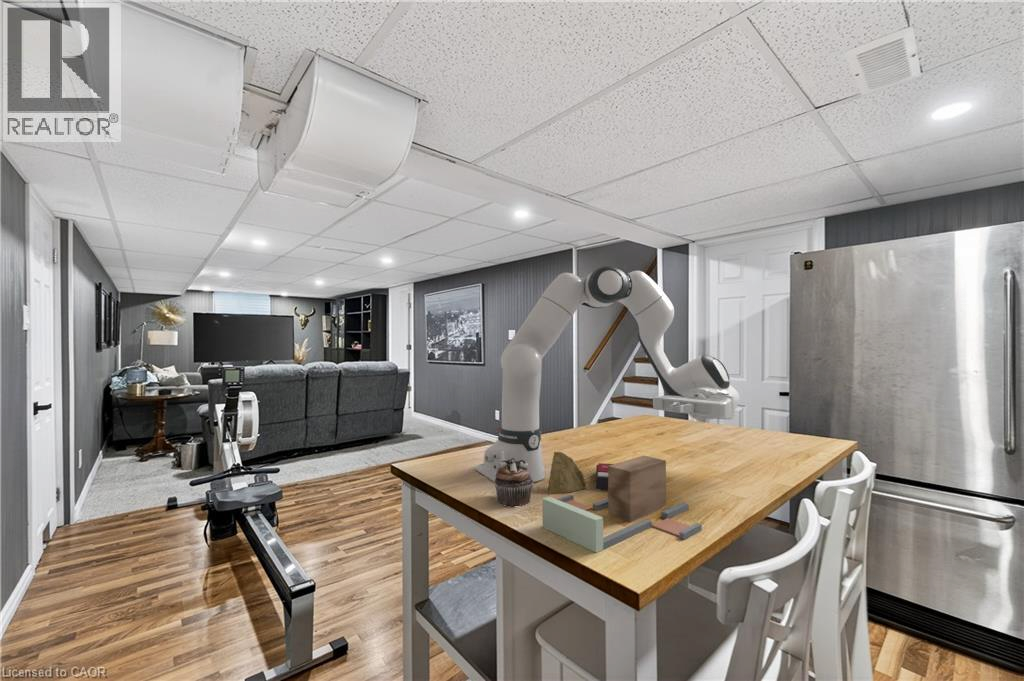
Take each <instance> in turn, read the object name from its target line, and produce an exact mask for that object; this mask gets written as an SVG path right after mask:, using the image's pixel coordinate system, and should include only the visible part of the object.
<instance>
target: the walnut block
mask: <svg viewBox="0 0 1024 681" xmlns="http://www.w3.org/2000/svg"><path fill="white" fill-rule="evenodd" d="M612 464H613V465H609V466H608V490H607V492H608V494H607V495H608V496H607V497H608V507H607V508H608V515H610V516H613V517H615V518H618V519H621V520H624V521H626V522H629V523H632V522H634V521H638V520H639V519H642V518H644V517H646V516H648V514H649V515H651V514H653V513H655V512H657V510H658V511H660V510H662V509H664V508H663V507H665V506H666V507H667V461H666V459H661V458H656V457H652V456H648V455H642V456H638V457H634V458H630V459H627V460H623V461H620V462H617V463H612ZM666 507H665V508H666ZM661 508H662V509H661ZM659 509H660V510H659Z"/></svg>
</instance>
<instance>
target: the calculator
mask: <svg viewBox="0 0 1024 681" xmlns="http://www.w3.org/2000/svg"><path fill="white" fill-rule="evenodd" d="M613 464H614V463H603V462H602V463H599V462H598V463H597V464H596V470H595V477H596V478H595V490H597V489H601V490H600V491H608V466H609V465H613Z"/></svg>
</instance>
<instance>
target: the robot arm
mask: <svg viewBox="0 0 1024 681" xmlns="http://www.w3.org/2000/svg"><path fill="white" fill-rule="evenodd" d="M616 302H618V303H620V304H622V305H623V306H625V307H626V308H627V310H628V311H629V312H630V313H631V315H632V316H633V318H634V319H635V320H636V323H637V326H638V331H637V332H638V333H637V338H638V341H639V343H640V345H641V348H642V349H643V352H644V354H645V355H646V357H647V359H648V360H649V362H650V364H651V366H652V367H653V369H654V372H655V373H656V375H657V377H658V379H659V381H660V384H661V386H662V390H663V392H664V394H666V395H656V396H654V397H653V398H652V408H653V409H654V410H657V411H663V412H664V411H665V412H673V413H680V414H688V416H690V417H691V418H692V419H694V420H697V421H706V420H707V421H708V420H709V421H711V420H715V419H716V420H733V419H734V418H735V411H736V409H737V408H738V406H739V404H740V400H741V399H740V394H739V392H738V391H737V389H736V388H735V387H734V386H732V385H731V384H730V376H729V373H728V371H727V369H726V367H725V364H723V362H722V361H720V360H719V359H717V358H716V357H714V356H712V355H708V354H701V355H700V356H698V357H696V358H694V359H692V360H689V361H688V362H686V363H683V364H682V365H680V366H679V367H673V366H672V364H671V363H670V360H669V359H668V357H667V355H666V354H665V352H664V350H663V348H662V344H661V340H662V337H663V336H664V334H665V333H666V331H667V330H668V329H669V327H671V324H672V323H673V320H674V317H675V308H674V305H673V303H672V301H671V300H670V298H669V297H668V296H667V295H666V293H665V292H664V291H663V289H662V288H661V287H660V286H659V285H658V284H657V283H656V282H655V280H654V279H652V278H651V277H650V276H649V275H648V274H646V273H645V272H644V271H641V270H632V271H631V272H626V271H623V270H621V269H619V268H617V267H615V266H612V265H603V266H600V267H597V268H596V269H594V270H593V271H592V272H590V273H589V274H587V276H585V277H579V276H578V275H576V274H574V273H572V272H562V273H560V274H558V275H557V276H556V277H555V279H553V281H552V282H551V283H550V284H549V286H548V287H547V288H546V289H545V290H544V292H543V293H542V294H541V296H540V298H539V299H538V301H537V302H536V304H535V305H534V307H532V310H531V311H530V313H529V314H528V316H527V317H526V319H525V320H524V322H522V324H521V326H520V327H519V328H518V330H517V332H516V333H515V334H514V336H513V337H512V339H511V340H510V341H509V343H507V344H508V345H506V347H505V349H504V350H503V351H502V354H501V356H500V366H501V369H502V386H501V387H502V388H501V390H502V391H501V427H499V428H496V434H497V433H499V434H498V436H497V440H496V441H495V442H493V444H491V445H490V446H488V447H487V448H486V450H485V451H484V455H483V463H481V464H479V465H477V466H475V470H476V471H477V472H479V473H481V475H483V476H485V477H486V478H488V479H489V480H491V481H492V482H493V483H495V479H496V477H497V476H496V473H497V471H498V469H499V463H501V462H502V461H507V460H508V459H512V458H514V460H516V461H520V460H524V461H525V462H526V463H527V464H528V468H527V469H528V470H529V472H530V476H531V478H532V480H533V483H535V482H539V481H542V480H544V479H545V478H546V473H545V472H546V466H544V458H543V448H542V444H541V441H542V431H541V427H540V396H541V385H542V366H543V365H542V364H543V360H542V359H543V358H544V357H545V355H546V354H547V352H549V350H550V349H551V348H552V347H553V345H554V344H555V343H556V342H557V341H558V339H559V337H560V336H561V334H562V333H563V332H564V330H565V328H566V327H567V325H568V324H569V322H571V319H572V317H573V316H574V315H575V313H576V311H577V310H578V309H579V307H581V305H582V306H586V307H589V308H591V309H602V308H604V307H609V306H610V305H612V304H614V303H616Z"/></svg>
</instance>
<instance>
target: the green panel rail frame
mask: <svg viewBox="0 0 1024 681" xmlns="http://www.w3.org/2000/svg"><path fill="white" fill-rule="evenodd" d="M541 501H542V528H544V529H546V530H548V531H550V532H552V533H554V534H556V535H558V536H560V537H562V538H564V539H567V540H569V541H570V542H573V543H575V544H577V545H578V546H581V547H583V548H584V549H587V550H589V551H591V552H594V553H595V554H596V553H599V552H601V551H603V550H605V549H609V548H610V547H612V546H614V545H616V544H618V543H620V542H622V541H625V540H626V539H629V538H630V537H633V536H635V535H637V534H640V533H642V532H643V531H645V530H648V529H650V528H654V529H657V530H660V531H663V532H665V533H668V534H670V535H673V536H676V537H678V538H679V539H680V540H683V539H685V540H686V539H688V538H690V537H691V536H693V535H696V534H697V533H699V532H701V531H702V530H703V527H702V526H703V525H702V523H699V522H696V523H694V524H691V525H689V524H687V523H683V522H681V521H678V520H675V519H672V518H674V517H675V515H676V516H678V515H680V514H682V513H684V512H685V511H688V510H690V509H689V507H690V505H689V503H687V502H684V501H683V502H680V503H678V504H676V505H673V506H671V507H668V508H666V509H665V510H662V511H661V512H660V516H661V518H662V519H663V520H660V521H658V522H656V523H653V521H652V520H650V519H648V518H644V519H642V520H640V521H638V522H637V521H636V522H635V523H633V524H631V525H628V526H627V527H624V528H621V529H619V530H617V531H615V532H613V533H610V534H608V535H606V536H604V516H603V517H602V516H600V515H597V514H596V513H593V512H590V510H595V511H600V510H603V509H605V508H608V498H604V499H601V500H599V501H595V502H593V503H592V506H590V505H587V504H585V503H581V502H579V501H576V500H574V495H573V494H569V495H564V496H562V497H559V498H554V497H551V496H546V497H543V498H542V500H541ZM683 511H684V512H683ZM681 512H682V513H681ZM679 513H680V514H679ZM677 514H678V515H677ZM665 518H666V519H665Z"/></svg>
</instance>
